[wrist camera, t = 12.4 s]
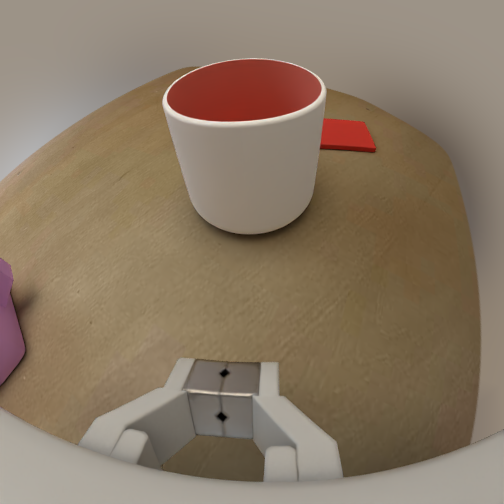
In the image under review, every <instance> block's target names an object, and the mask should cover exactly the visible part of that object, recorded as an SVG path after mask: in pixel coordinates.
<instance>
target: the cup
mask: <svg viewBox="0 0 504 504" xmlns="http://www.w3.org/2000/svg"><path fill="white" fill-rule="evenodd" d="M325 101H326V88H325V85H324V83H323V81H322V80H321V79H320V78H319V77H318V76H317V75H315V74H314V73H313V72H311V71H309V70H307V69H305V68H303V67H301V66H298V65H295V64H292V63H288V62H284V61H278V60H272V59H254V58H253V59H237V60H229V61H223V62H219V63H214V64H210V65H207V66H204V67H201V68H198V69H196V70H193V71H191V72H189V73H187V74H185V75H184V76H182V77H181V78H179V79H178V80H176V81H175V82H174V83H173V84H172V85H171V86H170V87H169V88H168V89H167V91H166V92H165V94H164V97H163V108H164V112H165V115H166V119H167V122H168V126H169V129H170V133H171V136H172V140H173V143H174V147H175V150H176V154H177V157H178V160H179V164H180V167H181V170H182V174H183V177H184V180H185V183H186V187H187V190H188V193H189V196H190V199H191V202H192V204H193V206H194V208H195V209H196V211H197V212H198V213H199V215H200V216H201V217H202V218H204V219H205V220H206V221H207V222H209V223H210V224H212V225H214V226H215V227H217V228H220V229H222V230H225V231H228V232H232V233H238V234H260V233H266V232H270V231H274V230H277V229H279V228H281V227H284V226H286V225H287V224H289V223H291V222H292V221H293V220H295V219H296V218H297V217H298V216H300V215H301V214H302V212H303V211H304V210H305V209H306V207H307V206H308V204H309V202H310V200H311V198H312V195H313V191H314V185H315V178H316V171H317V164H318V157H319V150H320V143H321V135H322V127H323V119H324V110H325Z"/></svg>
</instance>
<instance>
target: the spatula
mask: <svg viewBox="0 0 504 504" xmlns="http://www.w3.org/2000/svg"><path fill="white" fill-rule="evenodd" d="M320 148H321V149H340V150H354V151H367V152H375V150H376V147H375V144H374V142H373V140H372V138H371V135H370V133H369V131H368V129H367V127H366V125H365V123H364V122H360V121H350V120H338V119H323V127H322V135H321V143H320Z"/></svg>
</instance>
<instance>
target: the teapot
mask: <svg viewBox="0 0 504 504" xmlns="http://www.w3.org/2000/svg"><path fill="white" fill-rule="evenodd" d="M12 283H13V275H12V270H11V265H9V264H8V263H7V262H5V261H4V260H3V259H1V258H0V385H1V384H2V383H3V382H4V381H5V380H6V378H7V377H8V376H9V375H10V373H11V372H12V371H13V370H14V368H15V367H16V366H17V364H18V363H19V362H20V360H21V359H22V357H23V355H24V353H25V345H24V341H23V337H22V334H21V330H20V327H19V323H18V320H17V316H16V312H15V309H14V305H13V302H12V298H11V295H10V290H11V287H12Z"/></svg>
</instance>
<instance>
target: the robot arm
mask: <svg viewBox="0 0 504 504" xmlns="http://www.w3.org/2000/svg"><path fill="white" fill-rule="evenodd" d="M196 435H203V436H215V437H228V438H240V439H253V441H254V442H255V444H256V445H257V447H258V448H259V450H260V451H261V453H262V454H263V456H264V457H265V468H264V482H249V481H233V480H221V479H212V478H204V477H196V476H190V475H184V474H178V473H173V472H167V471H162V468H161V465H162V464H163V463H165V462H166V461H167V460H168V459H170V458H171V457H172V456H173V455H174V454H176V453H177V452H178V451H179V450H180V449H182V448H183V447H184V446H185V445H186V444H187V443H189V442H190V441H191V440H192V439H193V438H194V437H196ZM0 504H504V429H503V430H501V431H499V432H497V433H495V434H493V435H491V436H489V437H486V438H484V439H482V440H480V441H477V442H475V443H473V444H470V445H468V446H465V447H463V448H460V449H458V450H455V451H452V452H449V453H447V454H444V455H441V456H438V457H435V458H432V459H428V460H425V461H422V462H418V463H415V464H411V465H407V466H403V467H399V468H395V469H390V470H386V471H381V472H376V473H370V474H365V475H359V476H352V477H345V478H344V477H343V472H342V467H341V461H340V456H339V451H338V446H337V442H336V441H335V440H334V439H333V438H331V437H330V436H329V435H328V434H327V433H325V432H324V431H323V430H322V429H321V428H320V427H318V426H317V425H316V424H315V423H314V422H313V421H312V420H310V419H309V418H308V417H307V416H306V415H305V414H304V413H303V412H301V411H300V410H299V409H298V408H297V407H296V406H295V405H294V404H293V403H292V402H290V401H289V400H288V399H287V398H286V397H285V396H280V395H279V363H278V362H228V361H216V360H204V359H194V358H182V357H181V358H179V359H178V360H177V362H176V364H175V366H174V368H173V370H172V372H171V374H170V376H169V378H168V379H167V381H166V383H165V385H164V387H163V388H159V387H158V388H157V389H155V390H153V391H151V392H149V393H147V394H145V395H143V396H141V397H139V398H137V399H135V400H133V401H131V402H129V403H127V404H125V405H123V406H120V407H118V408H116V409H114V410H112V411H110V412H108V413H106V414H103V415H101V416H99V417H97V418H96V419H95V420H94V421H93V423H92V424H91V426H90V427H89V429H88V430H87V432H86V433H85V435H84V436H83V438H82V439H81V440H80V442H79V443H78V445H76V444H73V443H71V442H68V441H66V440H64V439H61V438H59V437H57V436H55V435H52V434H50V433H48V432H46V431H44V430H42V429H40V428H38V427H36V426H34V425H32V424H30V423H28V422H26V421H24V420H22V419H21V418H19V417H17V416H15V415H13V414H12V413H10V412H8V411H7V410H5V409H3V408H2V407H0Z"/></svg>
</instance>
